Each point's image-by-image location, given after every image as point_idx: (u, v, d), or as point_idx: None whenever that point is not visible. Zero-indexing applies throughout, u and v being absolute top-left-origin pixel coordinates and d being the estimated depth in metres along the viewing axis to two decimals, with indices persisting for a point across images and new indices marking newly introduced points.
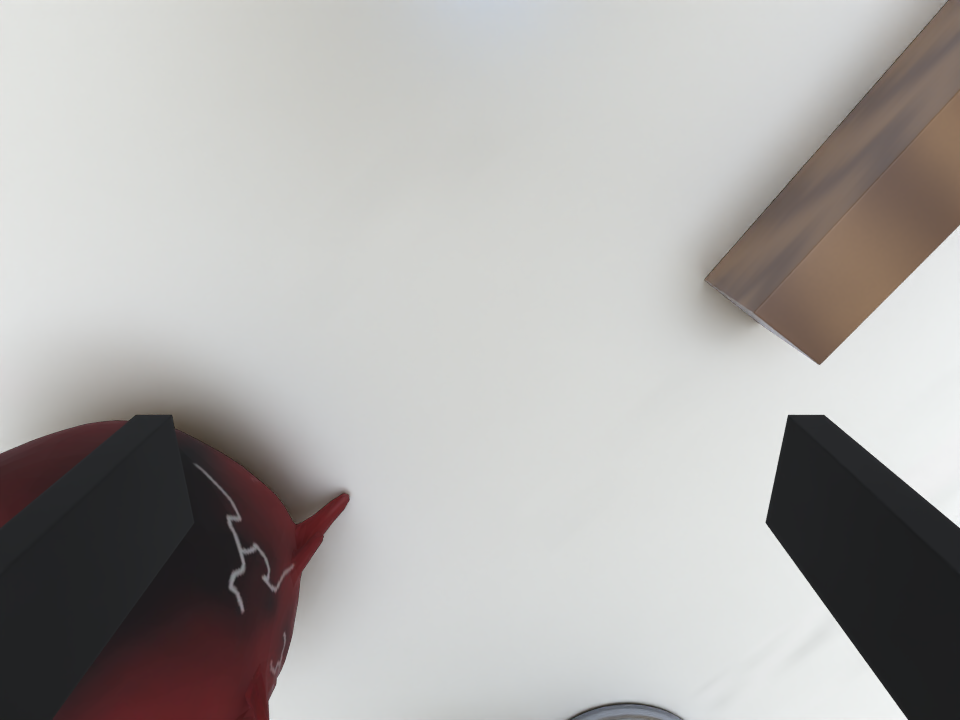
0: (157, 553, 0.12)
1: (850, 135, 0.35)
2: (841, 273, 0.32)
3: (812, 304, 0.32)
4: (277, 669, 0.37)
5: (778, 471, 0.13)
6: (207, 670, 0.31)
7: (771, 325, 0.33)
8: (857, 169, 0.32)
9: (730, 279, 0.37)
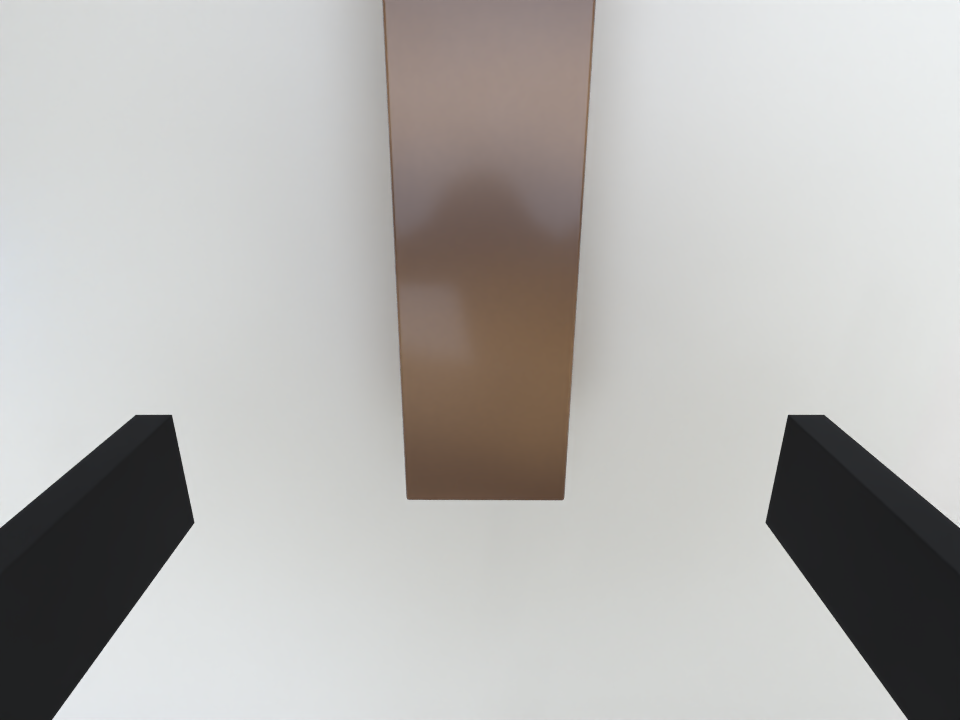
0: (157, 553, 0.12)
1: None
2: (472, 382, 0.18)
3: (473, 441, 0.19)
4: None
5: (778, 471, 0.13)
6: None
7: (445, 498, 0.20)
8: None
9: None
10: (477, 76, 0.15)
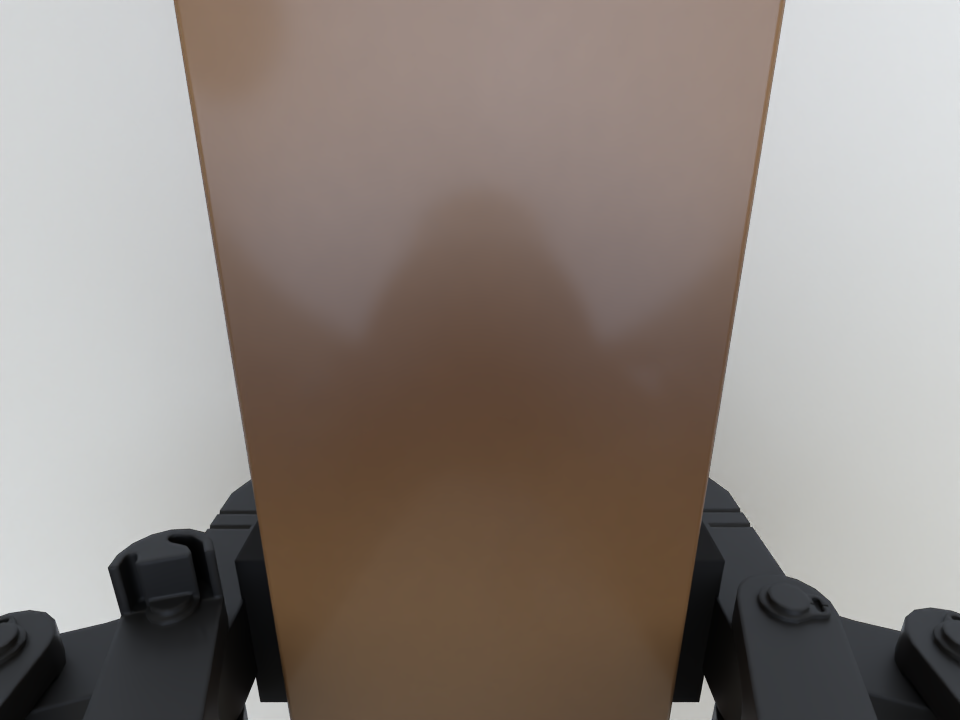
0: None
1: None
2: (448, 703, 0.08)
3: None
4: None
5: None
6: None
7: None
8: None
9: None
10: None
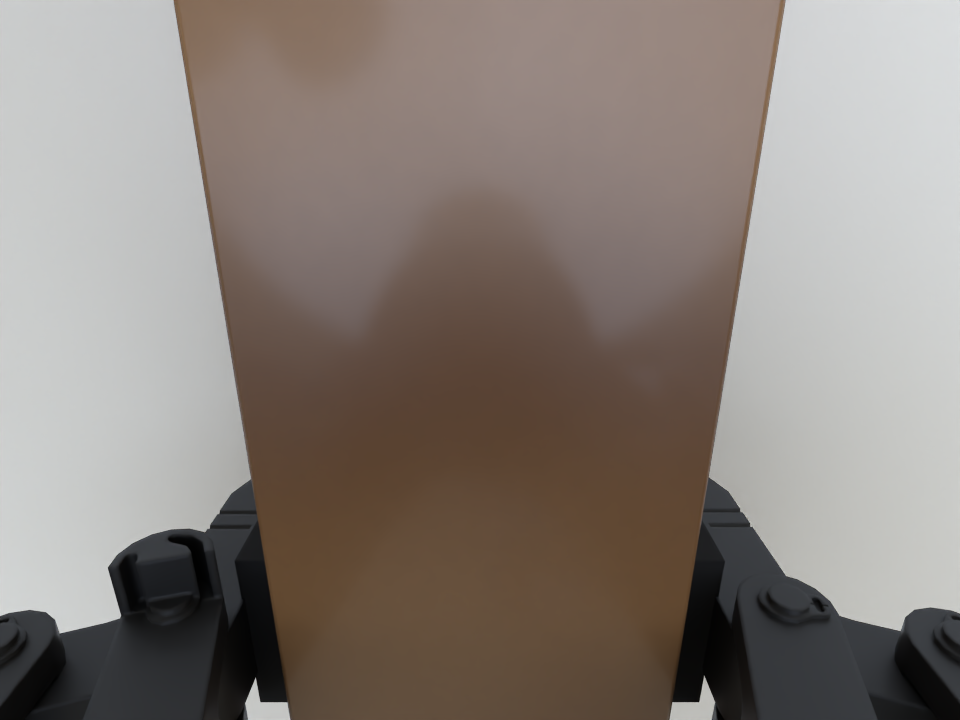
0: None
1: None
2: (448, 704, 0.08)
3: None
4: None
5: None
6: None
7: None
8: None
9: None
10: None
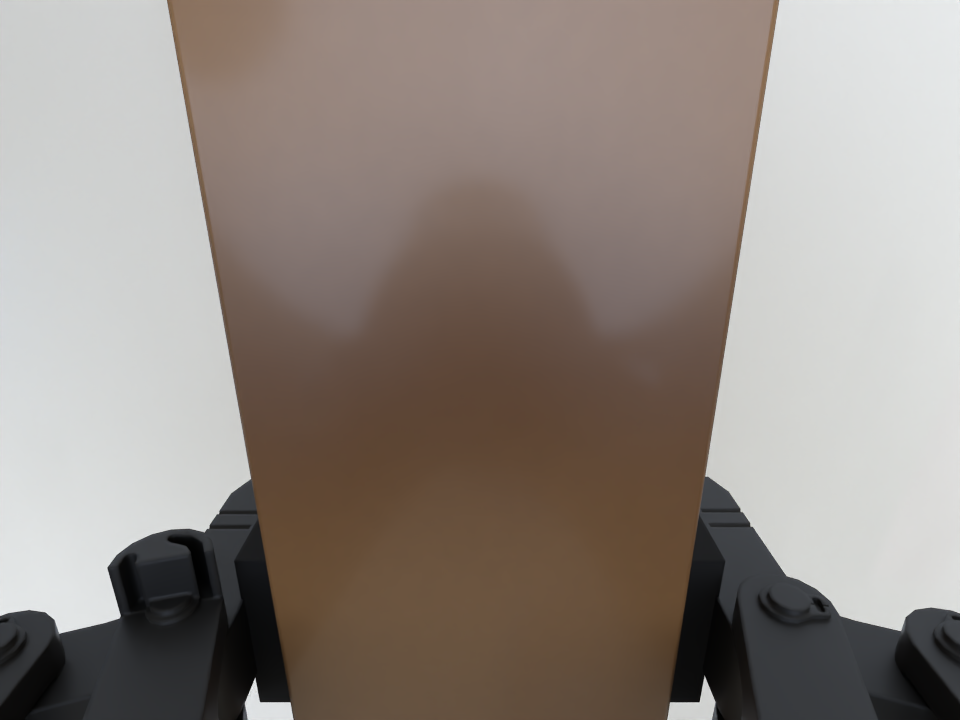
0: None
1: None
2: (449, 698, 0.08)
3: None
4: None
5: None
6: None
7: None
8: None
9: None
10: None
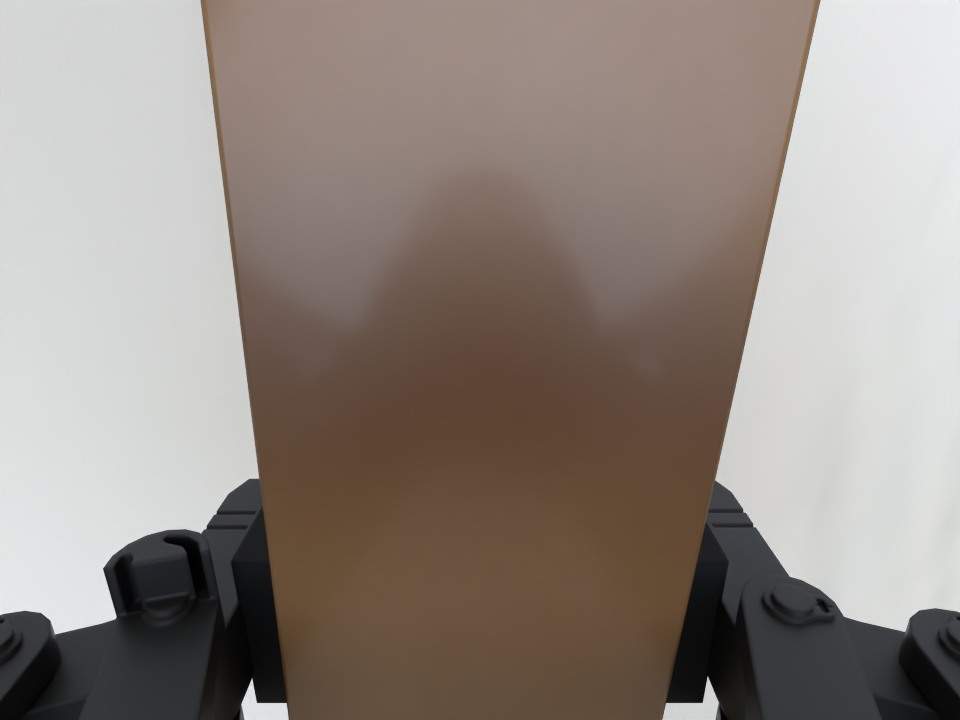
0: None
1: None
2: (445, 696, 0.08)
3: None
4: None
5: None
6: None
7: None
8: None
9: None
10: None
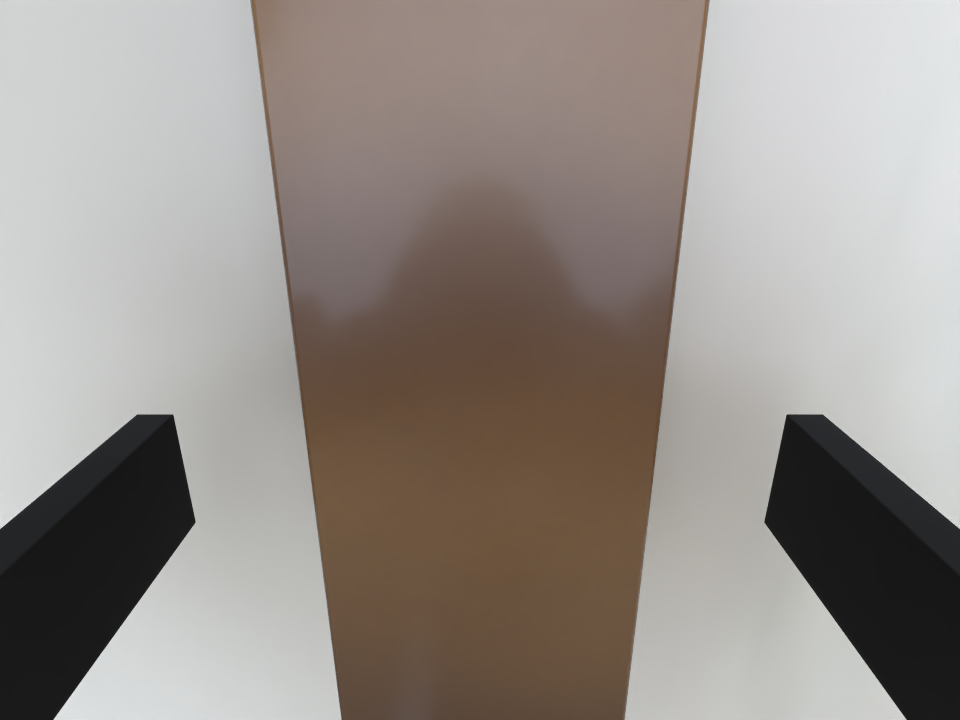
0: (158, 552, 0.12)
1: None
2: (456, 586, 0.10)
3: (460, 677, 0.11)
4: None
5: (776, 471, 0.13)
6: None
7: None
8: None
9: None
10: None
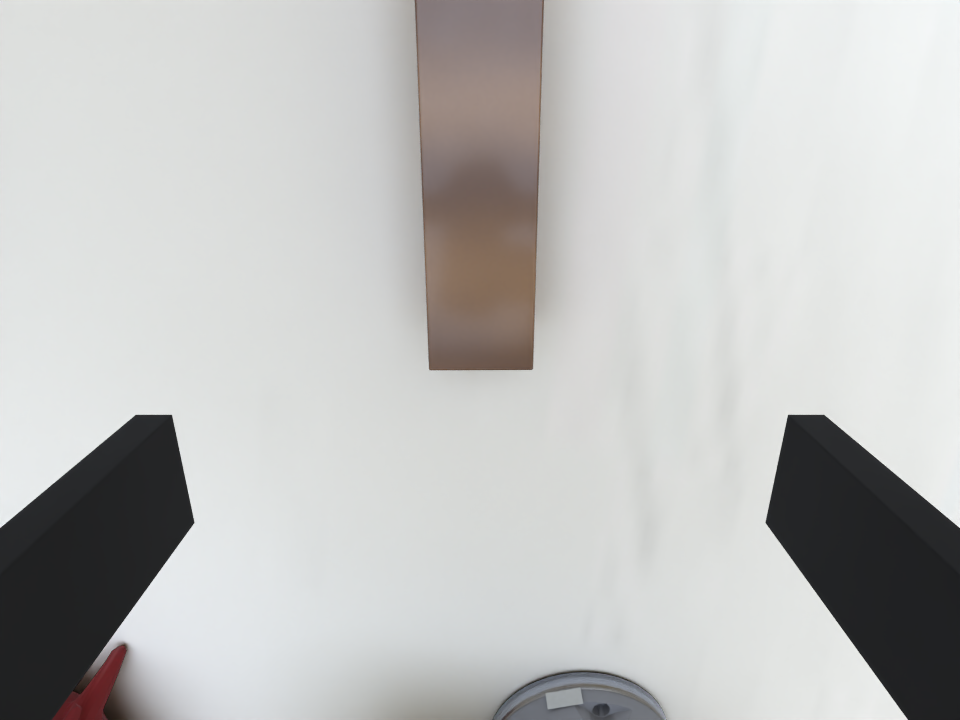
0: (157, 553, 0.12)
1: None
2: (471, 287, 0.29)
3: (472, 328, 0.30)
4: None
5: (778, 471, 0.13)
6: None
7: (454, 369, 0.30)
8: None
9: None
10: (473, 94, 0.26)
